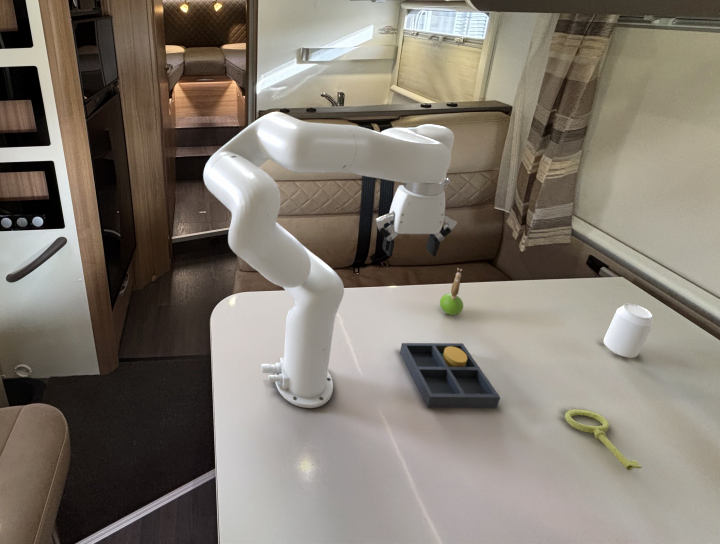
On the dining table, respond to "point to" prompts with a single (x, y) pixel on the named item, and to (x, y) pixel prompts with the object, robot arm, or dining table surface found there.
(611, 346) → the beverage can
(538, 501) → the dining table surface
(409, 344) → the grid
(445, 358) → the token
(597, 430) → the key
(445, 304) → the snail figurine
